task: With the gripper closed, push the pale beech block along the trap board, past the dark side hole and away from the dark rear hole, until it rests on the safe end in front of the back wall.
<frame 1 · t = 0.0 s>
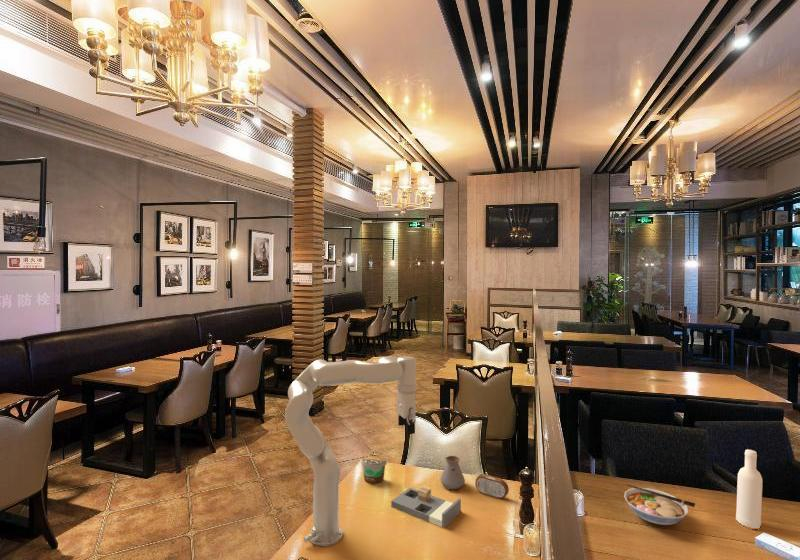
hand: (406, 429, 178), 37 cm above the table, tool pointing down, fingers open, 9 cm apart
tin: (491, 495, 199), on the table
trap board: (425, 509, 187), on the table
bottle: (748, 524, 177), on the table
food container: (372, 482, 210), on the table
ramen bowl: (654, 519, 181), on the table
coffee pot: (452, 491, 202), on the table
block: (424, 498, 191), point 2 cm above the table, touching trap board
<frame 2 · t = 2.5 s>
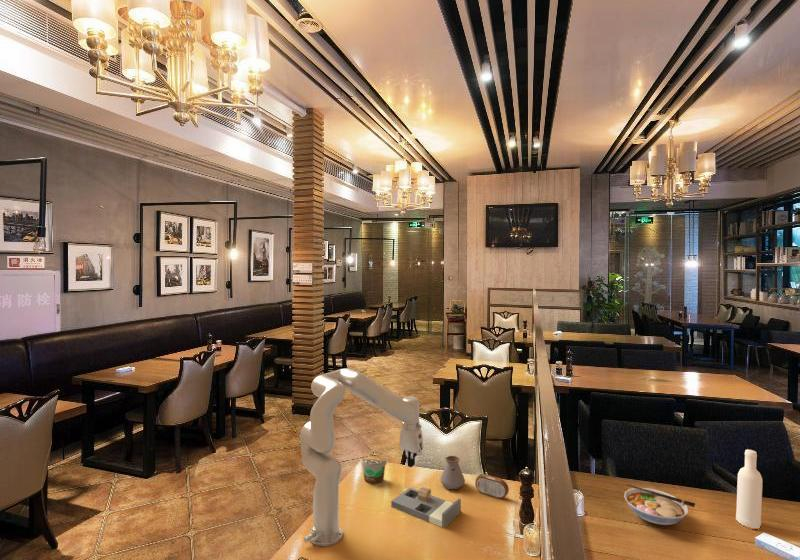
hand: (411, 465, 195), 15 cm above the table, tool pointing down, fingers closed
nothing on the table moved.
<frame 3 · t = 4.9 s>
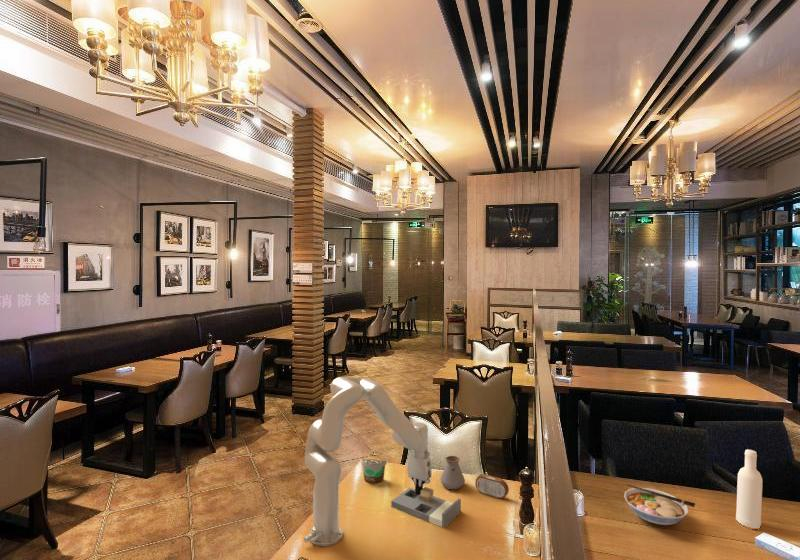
hand: (419, 493, 193), 4 cm above the table, tool pointing down, fingers closed
block: (426, 498, 191), point 3 cm above the table, touching gripper
everything else where it was.
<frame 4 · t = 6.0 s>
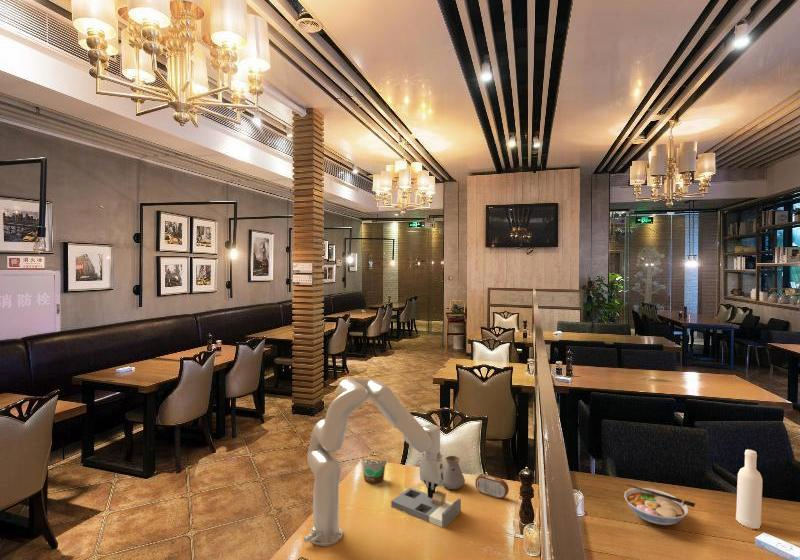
hand: (431, 496, 190), 4 cm above the table, tool pointing down, fingers closed
block: (438, 502, 187), point 3 cm above the table, touching gripper, trap board
everything else where it was.
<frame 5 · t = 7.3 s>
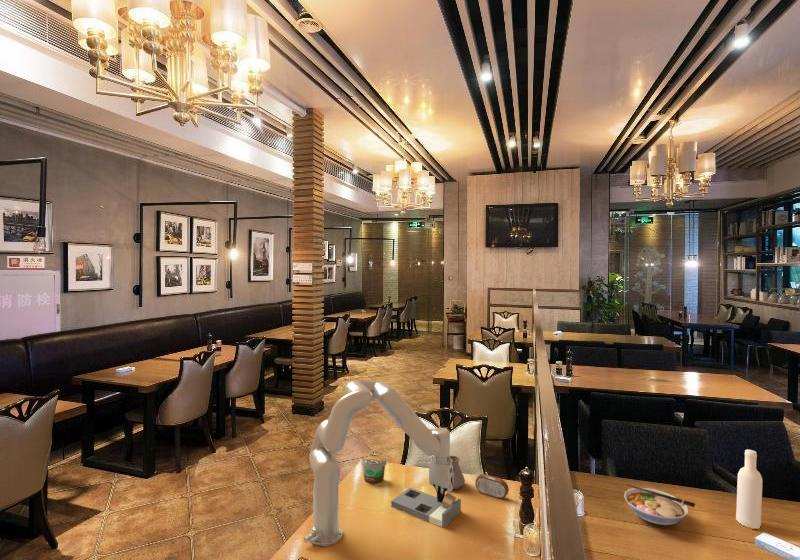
hand: (440, 500, 187), 4 cm above the table, tool pointing down, fingers closed
block: (447, 504, 185), point 3 cm above the table, tilted 19°, touching gripper, trap board
everything else where it was.
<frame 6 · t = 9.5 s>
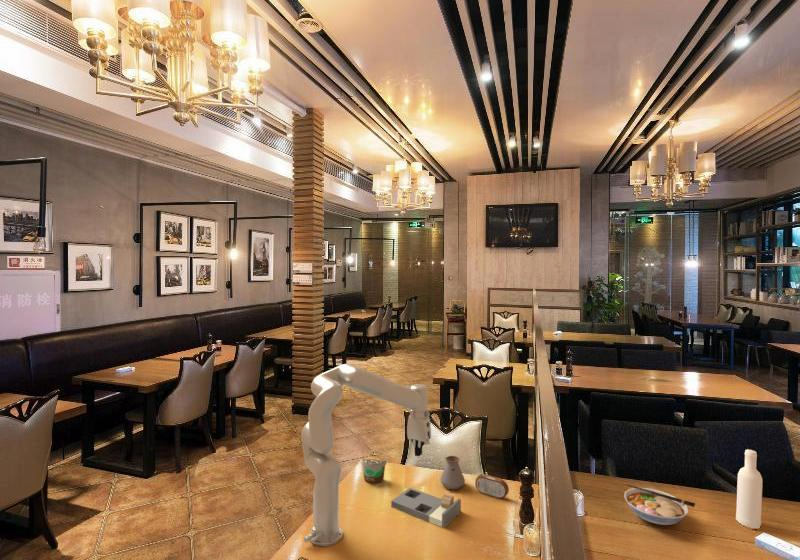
hand: (418, 455, 192), 21 cm above the table, tool pointing down, fingers closed
block: (447, 506, 185), point 2 cm above the table, touching trap board
everything else where it was.
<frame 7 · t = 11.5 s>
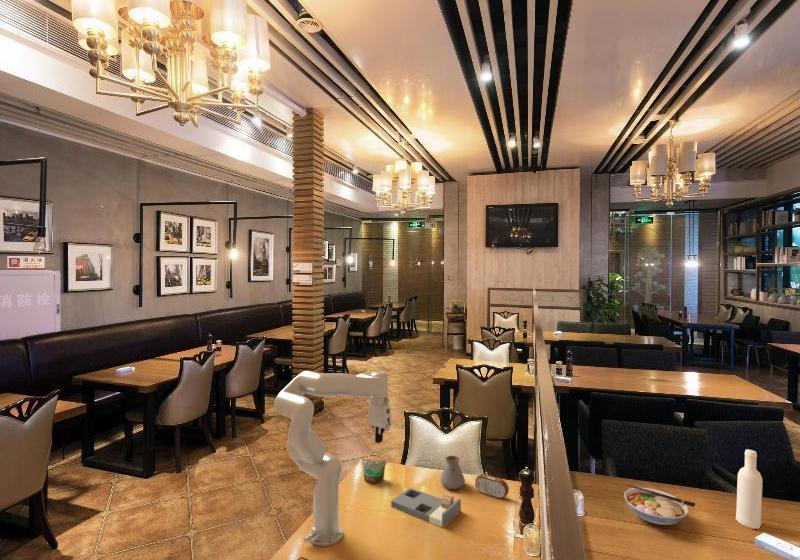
hand: (378, 441, 191), 27 cm above the table, tool pointing down, fingers closed
nothing on the table moved.
at the end: block inside the target area on the trap board (2.1 cm from its centre), point 2.5 cm above the trap board's base; block tilted 0° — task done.
